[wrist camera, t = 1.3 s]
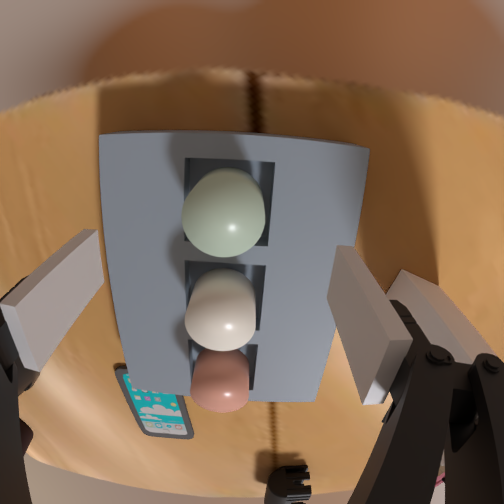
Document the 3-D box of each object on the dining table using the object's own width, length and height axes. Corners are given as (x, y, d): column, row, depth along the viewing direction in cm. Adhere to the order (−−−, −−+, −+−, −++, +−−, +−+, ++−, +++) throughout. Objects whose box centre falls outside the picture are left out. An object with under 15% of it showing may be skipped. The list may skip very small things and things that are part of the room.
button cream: (193, 318, 28) (186, 348, 24) (192, 265, 26) (183, 291, 22) (253, 322, 28) (253, 353, 24) (257, 270, 26) (258, 296, 22)
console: (141, 364, 35) (132, 388, 31) (119, 131, 25) (98, 134, 21) (309, 376, 36) (314, 401, 32) (354, 143, 25) (370, 148, 21)
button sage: (192, 232, 24) (181, 254, 21) (193, 165, 22) (181, 175, 19) (260, 237, 25) (261, 259, 21) (266, 169, 22) (268, 180, 19)
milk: (400, 267, 30) (525, 444, 10) (439, 285, 31) (555, 437, 10) (371, 315, 32) (453, 502, 12) (410, 329, 33) (495, 489, 13)
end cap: (266, 464, 45) (267, 498, 39) (308, 463, 45) (312, 496, 39) (263, 486, 49) (264, 515, 43) (300, 485, 49) (303, 513, 43)
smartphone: (142, 435, 41) (110, 368, 35) (143, 431, 42) (113, 363, 36) (196, 440, 41) (176, 373, 35) (197, 435, 42) (178, 367, 36)
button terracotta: (197, 380, 31) (191, 409, 27) (194, 342, 29) (188, 372, 25) (247, 384, 31) (247, 413, 27) (251, 346, 29) (250, 377, 25)
